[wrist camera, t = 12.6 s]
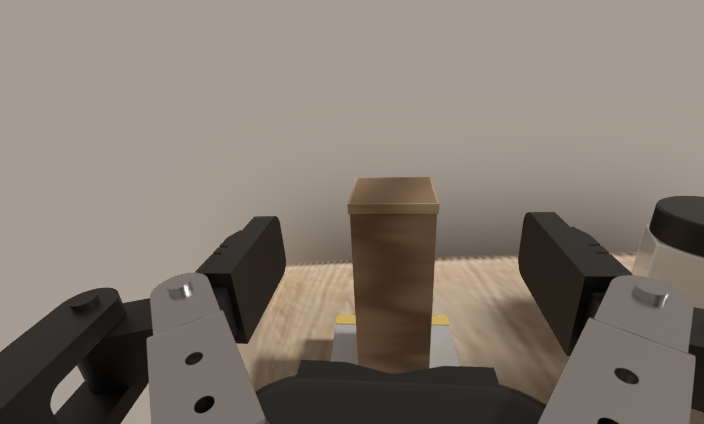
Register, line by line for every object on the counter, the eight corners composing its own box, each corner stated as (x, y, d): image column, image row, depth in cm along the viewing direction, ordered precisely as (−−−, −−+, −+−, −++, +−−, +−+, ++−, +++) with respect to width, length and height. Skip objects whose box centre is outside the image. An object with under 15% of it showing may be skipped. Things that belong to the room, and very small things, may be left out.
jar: (666, 366, 29) (717, 237, 25) (599, 305, 37) (628, 198, 32) (772, 359, 29) (841, 230, 25) (683, 300, 37) (724, 192, 32)
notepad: (444, 341, 33) (446, 314, 32) (470, 448, 24) (474, 416, 23) (339, 339, 34) (337, 314, 33) (324, 442, 25) (321, 411, 23)
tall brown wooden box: (424, 335, 30) (430, 176, 24) (429, 386, 25) (439, 203, 20) (363, 332, 30) (356, 177, 25) (357, 382, 26) (347, 204, 20)
